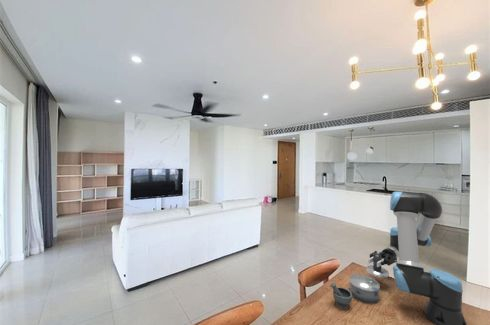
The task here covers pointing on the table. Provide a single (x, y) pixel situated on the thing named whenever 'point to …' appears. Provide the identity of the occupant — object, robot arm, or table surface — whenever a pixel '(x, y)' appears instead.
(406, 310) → the table surface
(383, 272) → the steel lid
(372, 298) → the cooker pot
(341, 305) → the mortar and pestle
